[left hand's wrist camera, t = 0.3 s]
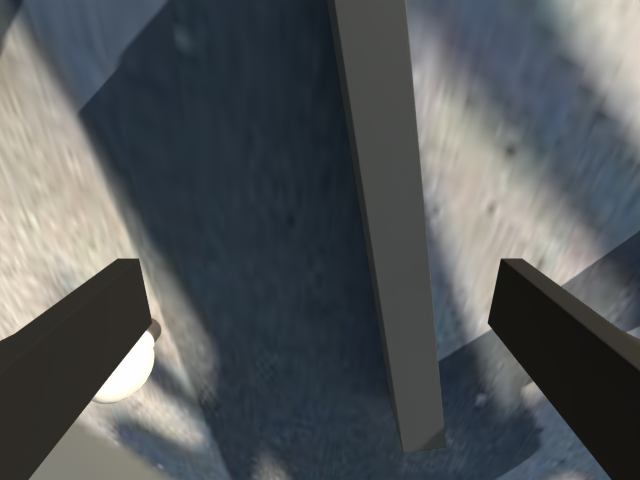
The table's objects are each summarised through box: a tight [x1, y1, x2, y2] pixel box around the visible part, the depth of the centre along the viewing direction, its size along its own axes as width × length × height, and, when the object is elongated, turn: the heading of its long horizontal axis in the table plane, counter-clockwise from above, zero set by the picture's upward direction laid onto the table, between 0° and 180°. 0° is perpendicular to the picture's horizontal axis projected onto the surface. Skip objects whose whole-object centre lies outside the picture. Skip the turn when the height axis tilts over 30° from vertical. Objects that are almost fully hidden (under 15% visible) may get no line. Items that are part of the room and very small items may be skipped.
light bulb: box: [92, 318, 161, 404], centre depth 40 cm, size 7×7×11 cm
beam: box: [326, 0, 446, 453], centre depth 35 cm, size 60×5×8 cm, turn 11°
